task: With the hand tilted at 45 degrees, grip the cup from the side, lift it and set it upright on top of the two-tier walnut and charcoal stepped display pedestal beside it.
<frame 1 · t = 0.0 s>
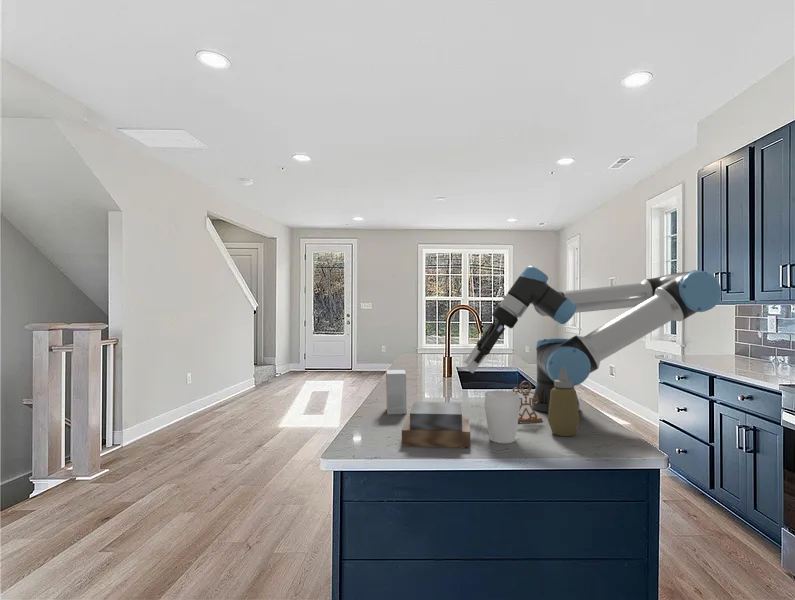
hand: (468, 367, 151), 15 cm above the countertop, tool tilted 35°, fingers open, 13 cm apart
small box: (396, 412, 159), on the countertop
gingerbread man figurine: (525, 421, 145), on the countertop
stepped display pedestal: (436, 438, 128), on the countertop
squeeze bottle: (563, 434, 132), on the countertop
cup: (502, 440, 127), on the countertop
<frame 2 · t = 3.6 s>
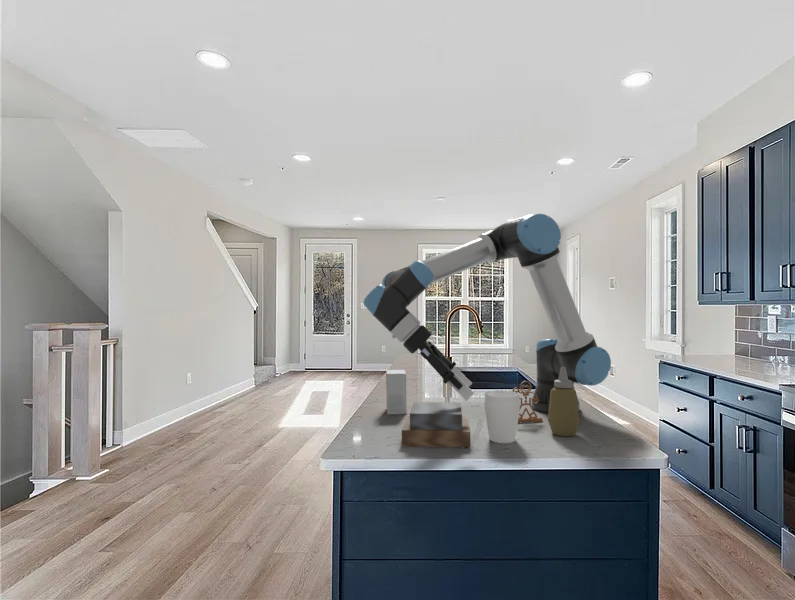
hand: (469, 391, 127), 13 cm above the countertop, tool tilted 45°, fingers open, 13 cm apart
nothing on the countertop moved.
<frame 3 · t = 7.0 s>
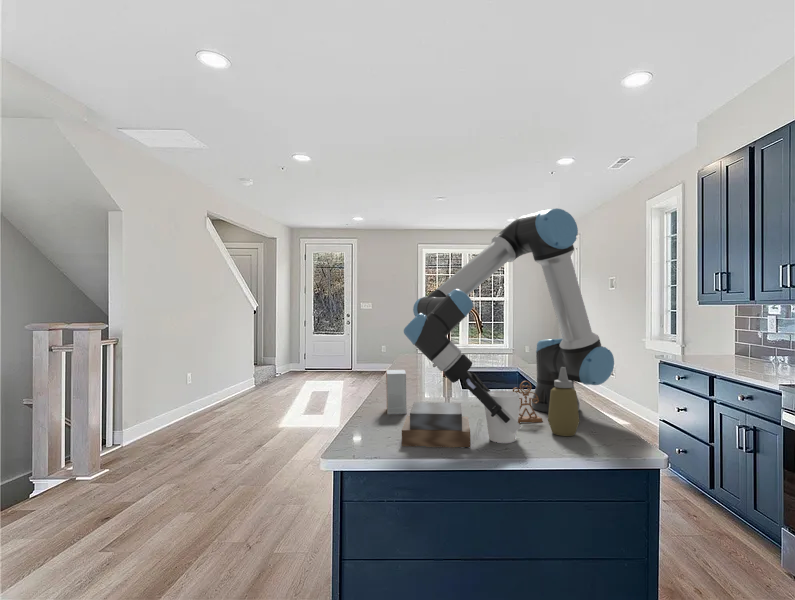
hand: (514, 424, 126), 4 cm above the countertop, tool tilted 45°, fingers closed on cup, 9 cm apart
cup: (502, 440, 127), on the countertop, touching gripper
everything else where it was.
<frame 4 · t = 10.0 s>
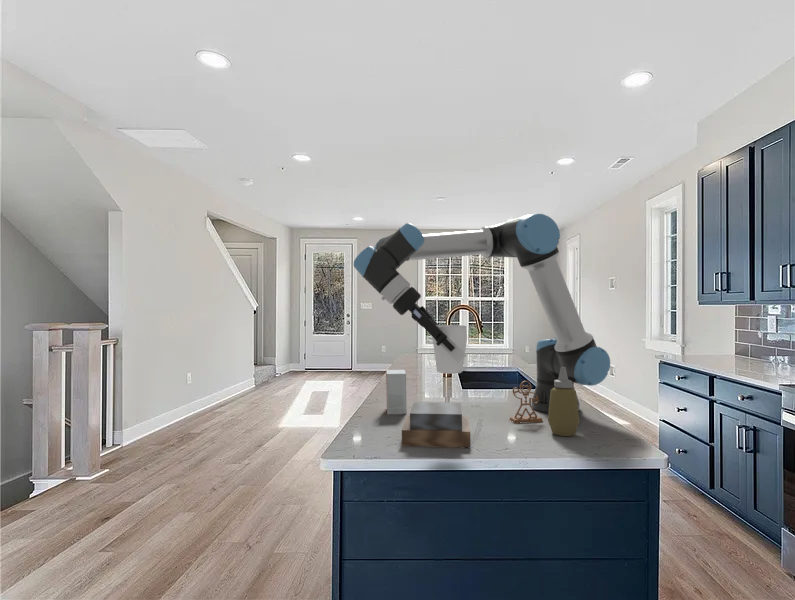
hand: (461, 356, 127), 22 cm above the countertop, tool tilted 45°, fingers closed on cup, 9 cm apart
cup: (449, 372, 128), point 17 cm above the countertop, touching gripper
everything else where it was.
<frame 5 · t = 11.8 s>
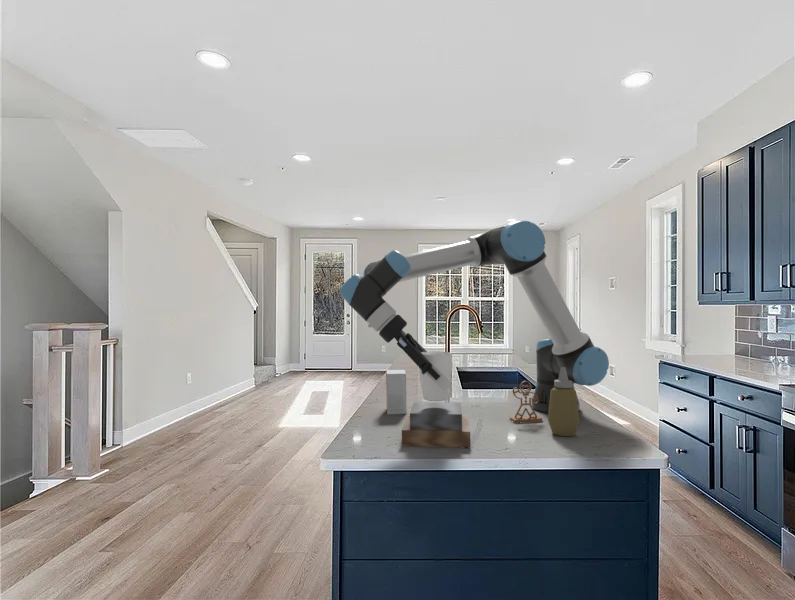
hand: (448, 383, 128), 14 cm above the countertop, tool tilted 45°, fingers closed on cup, 9 cm apart
cup: (435, 399, 128), point 10 cm above the countertop, touching gripper
everything else where it was.
when the fingers open (13 cm above the countertop, at t = 13.0 s): cup drops 1 cm, resting on stepped display pedestal.
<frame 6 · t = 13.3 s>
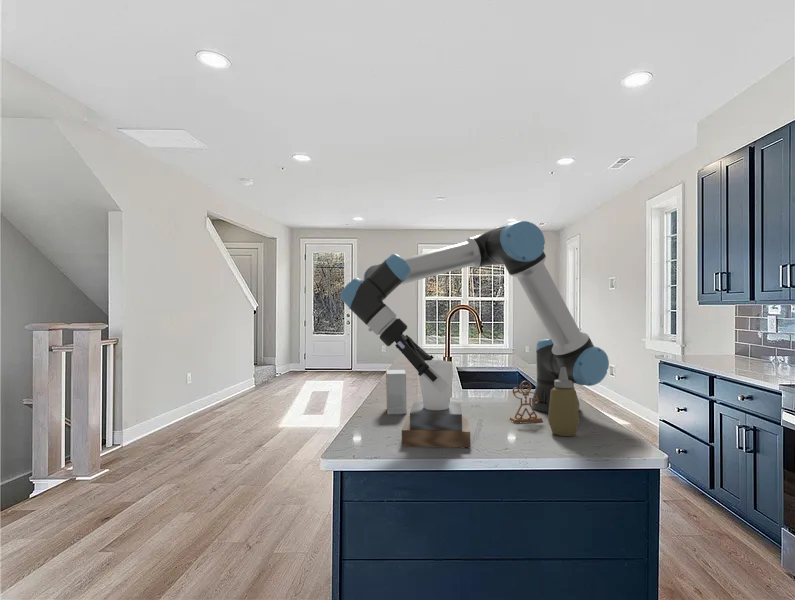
hand: (445, 384, 128), 14 cm above the countertop, tool tilted 45°, fingers open, 13 cm apart
cup: (436, 408, 128), point 8 cm above the countertop, touching stepped display pedestal
everything else where it was.
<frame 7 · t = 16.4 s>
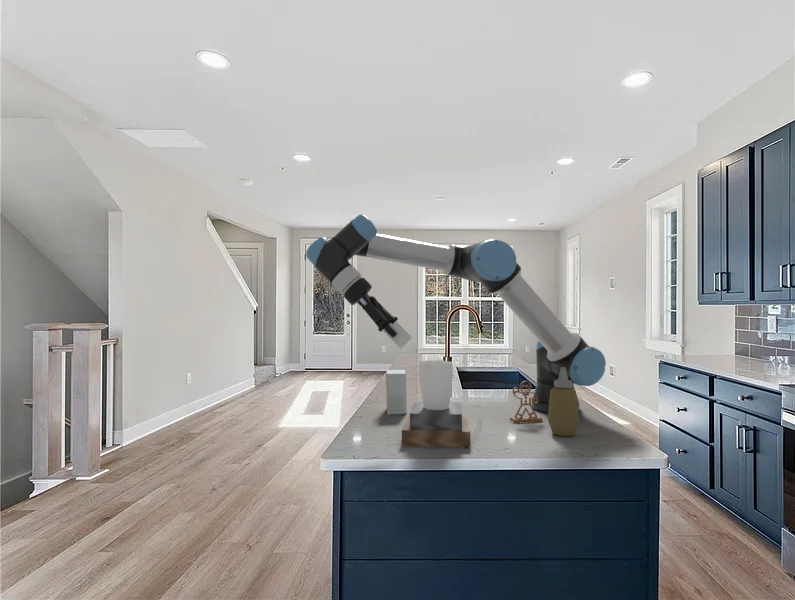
hand: (407, 343, 130), 25 cm above the countertop, tool tilted 45°, fingers open, 13 cm apart
nothing on the countertop moved.
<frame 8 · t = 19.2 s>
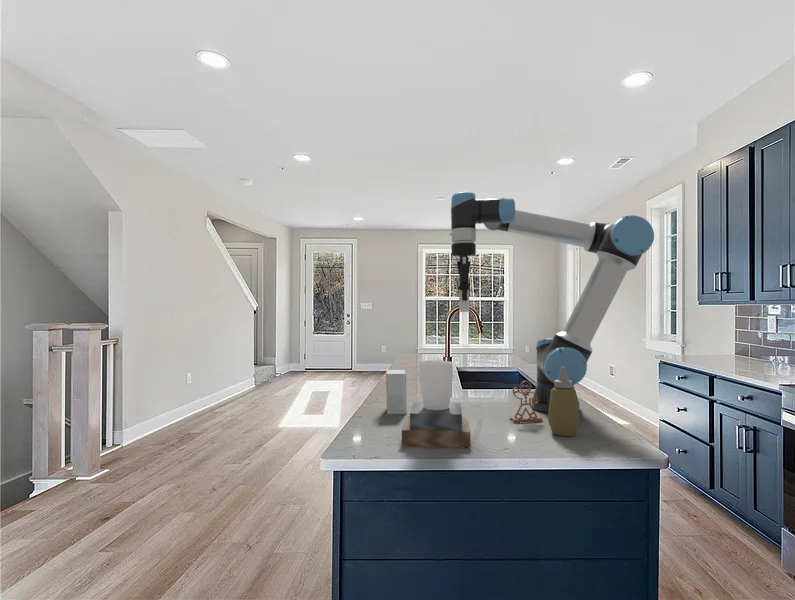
hand: (464, 311, 152), 33 cm above the countertop, tool pointing down, fingers open, 13 cm apart
nothing on the countertop moved.
at the end: cup inside the target area on the stepped display pedestal (0.1 cm from its centre), point 7.8 cm above the stepped display pedestal's base; cup tilted 0°; the gripper is holding nothing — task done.
